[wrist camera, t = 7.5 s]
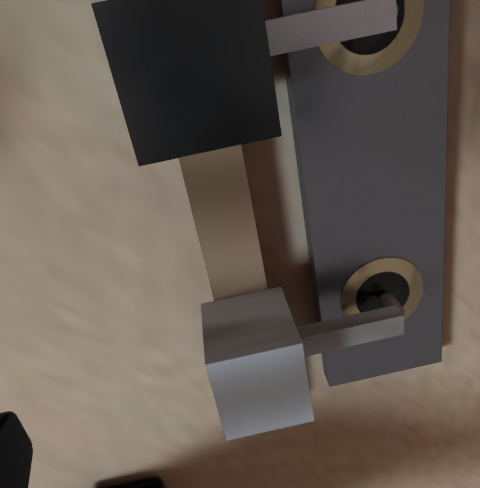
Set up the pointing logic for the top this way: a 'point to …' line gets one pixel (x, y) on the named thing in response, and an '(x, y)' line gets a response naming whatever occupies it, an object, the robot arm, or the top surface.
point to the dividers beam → (258, 309)
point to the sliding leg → (212, 66)
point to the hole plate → (375, 179)
